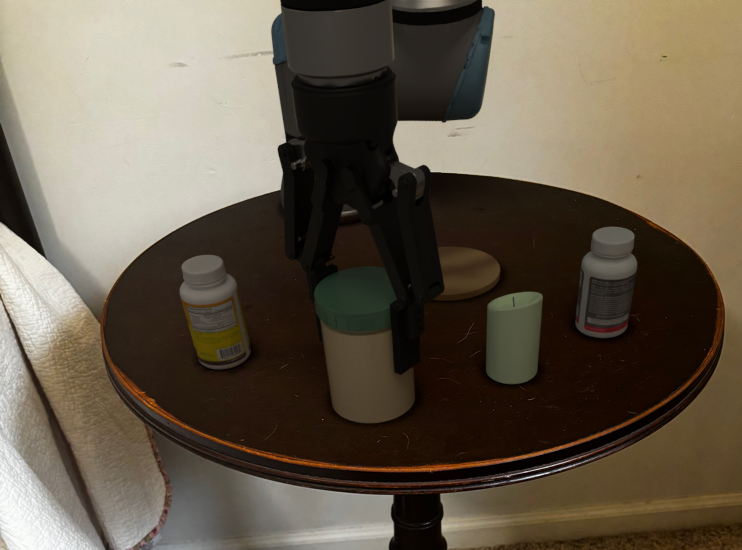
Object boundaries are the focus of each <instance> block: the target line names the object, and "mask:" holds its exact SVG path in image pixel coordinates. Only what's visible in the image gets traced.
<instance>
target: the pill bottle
mask: <svg viewBox="0 0 742 550" xmlns="http://www.w3.org/2000/svg"><path fill="white" fill-rule="evenodd" d="M635 237H636V236H635V233H634V232H633V231H632V230H630V229H629V228H624V227H620V226H604V227H601V228H598V229H596V230H595V231H593V233H592V236H591V241H590V243H591V244H590V251H588V252H587V253H586V254H585V255H584V256H583V258H582V260H581V263H580V264H581V265H580V271H579V272H580V273H579V275H580V276H579V282H578V292H577V302H576V311H575V327H576V329H577V330H578V331H579V332H580V333H581V334H583V335H585V336H588V337H591V338H597V339H611V338H616V337H618V336H620V335H622V334H623V333H624V332H626V331H627V329H628V325H629V320H630V314H631V308H632V307H631V306H632V302H633V295H634V288H635V284H636V276H637V273H638V272H637V271H638V260H637V258H636V256H635V255H634V254H632V252H633V250H634V247H635Z"/></svg>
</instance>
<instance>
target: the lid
mask: <svg viewBox="0 0 742 550" xmlns="http://www.w3.org/2000/svg"><path fill="white" fill-rule="evenodd" d="M410 286H411V285H410V284H409V286H408V287H410ZM314 298H315V302H314V303H315V307H314V311H315V310H316V314H317V315H318V317H319V320H321V321H322V322H323V323H325V324H326V325H328V326H330V327H333V328H335V329H339V330H344V331H352V332H366V331H375V330H379V329H383V328H387V327H390V326H391V314H390V304H391V303H392V302H394V301H395V300H397V297H396V295H395V292H394V290H393V287H392V285H391V282H390V280H389V277H388V275H387V272H386V270H385V267H384V266H373V265H372V266H368V265H367V266H356V267H349V268H345V269H342V270H338V272H336V273H333V274H331V275H329V276H327V277H326V278H324V279H323V280H322V281H320V282H319V283H318V285H317V286H316V288H315V291H314ZM314 303H313V304H314ZM316 314H315V315H316Z"/></svg>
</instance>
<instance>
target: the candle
mask: <svg viewBox="0 0 742 550" xmlns="http://www.w3.org/2000/svg"><path fill="white" fill-rule="evenodd" d="M543 301H544V297H543V294H542V293H540V292H538V291H521V292H514V293H509V294H505V295H502V296H499V297H497V298H495V299H492V300H491V301H490V302H488V304H487V306H486V343H485V344H486V345H485V346H486V348H485V349H486V350H485V373H486V374H487V376H488V377H489V378H490V379H492V380H493V381H495V382H497V383H500V384H505V385H519V384H523V383H526V382H528V381H531V380H532V379H534V377H535V376H536V375H537V373H538V366H539V353H540V341H541V339H540V338H541V328H542V327H541V326H542V315H543V314H542V313H543Z"/></svg>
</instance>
